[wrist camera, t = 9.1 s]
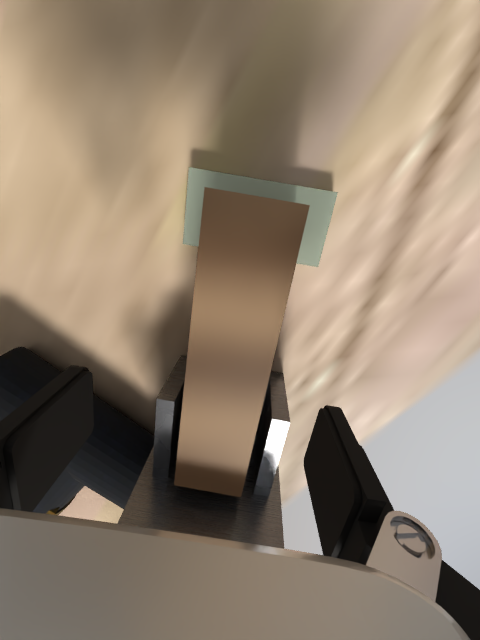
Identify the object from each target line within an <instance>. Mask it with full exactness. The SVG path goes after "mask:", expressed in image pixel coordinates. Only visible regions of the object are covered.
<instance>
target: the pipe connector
mask: <svg viewBox="0 0 480 640" xmlns="http://www.w3.org/2000/svg"><path fill="white" fill-rule="evenodd" d="M61 373H62V372H60V371H59V370H57V369H56V368H54V367H53V366H51V365H50V364H49V363H47V362H46V361H44V360H43V359H41V358H40V357H38V356H37V355H35V354H34V353H33V352H31V351H30V350H28V349H27V348H25V347H18V348H15V349H13V350H11V351H9V352H7V353H5V354H4V355H2V356H0V421H1V420H3V419H4V418H5V417H6V416H8V415H9V414H10V413H11V412H13V411H14V410H15V409H17V408H18V407H19V406H20V405H22V404H23V403H24V402H25V401H27V400H28V399H29V398H30V397H32V396H33V395H34V394H35V393H37V392H38V391H39V390H41V389H42V388H43V387H44V386H46V385H47V384H48V383H49V382H51V381H52V380H53V379H54V378H56V377H57V376H58V375H59V374H61ZM93 413H94V427H93V431H92V433H91V435H90V436H89V437H88V439H87V440H86V441H85V443H84V444H83V445H82V447H81V448H80V449H79V451H78V452H77V453H76V455H75V456H74V457H73V459H72V460H71V461H70V463H69V464H68V465H67V467H66V468H65V469H64V471H63V472H62V473H61V475H60V476H59V477H58V478H57V480H56V481H55V482H54V484H53V485H52V486H51V488H50V489H49V490H48V492H47V493H46V494H45V496H44V497H43V498H42V500H41V501H40V502H39V504H38V505H37V506H36V508H35V509H34V510H33V512H36V513H44V514H51V515H59V514H60V513H61V512H62V511H63V510H64V509H65V508H66V507H67V506H68V505H69V504H70V503H71V502H72V500H73V499H74V498H75V496H76V494H77V493H78V492H79V491H80V490H81V489H82V488H83V487H84V486H87V487H88V488H90V489H91V490H93V491H95V492H96V493H98V494H100V495H101V496H103V497H105V498H106V499H108V500H109V501H111V502H113V503H114V504H116V505H118V506H119V507H121V508H123V509H125V506H126V504H127V502H128V500H129V498H130V496H131V493H132V491H133V489H134V487H135V485H136V483H137V481H138V478H139V476H140V474H141V472H142V470H143V468H144V465H145V463H146V461H147V459H148V457H149V455H150V453H151V450H152V448H153V446H154V437H155V436H153V435H152V434H150V433H149V432H147V431H146V430H145V429H143V428H142V427H140V426H139V425H137V424H136V423H134V422H133V421H131V420H130V419H129V418H127V417H126V416H124V415H123V414H121V413H120V412H118V411H117V410H115V409H114V408H113V407H111V406H110V405H108V404H107V403H105V402H104V401H102V400H101V399H99V398H98V397H97V396H95V395H94V394H93Z"/></svg>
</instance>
